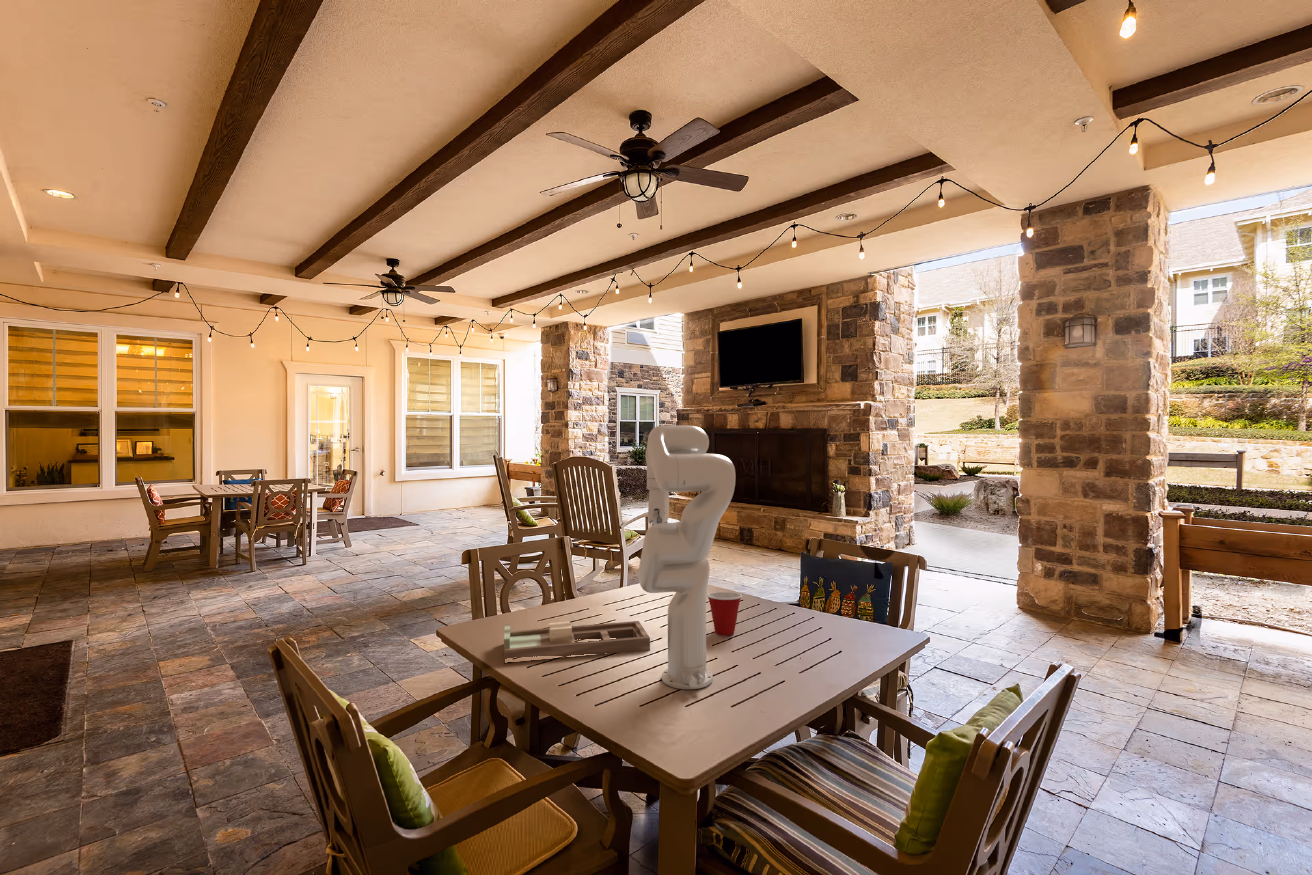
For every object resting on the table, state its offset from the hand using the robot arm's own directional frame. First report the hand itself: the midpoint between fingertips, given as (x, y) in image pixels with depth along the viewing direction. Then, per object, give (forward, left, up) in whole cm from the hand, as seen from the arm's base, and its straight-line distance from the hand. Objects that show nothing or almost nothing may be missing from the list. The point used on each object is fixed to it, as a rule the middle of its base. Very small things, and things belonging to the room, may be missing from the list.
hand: (659, 541), depth 175 cm
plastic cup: (+2, -21, -30) cm, 36 cm away
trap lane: (+1, +25, -29) cm, 38 cm away
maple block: (+1, +29, -27) cm, 40 cm away
